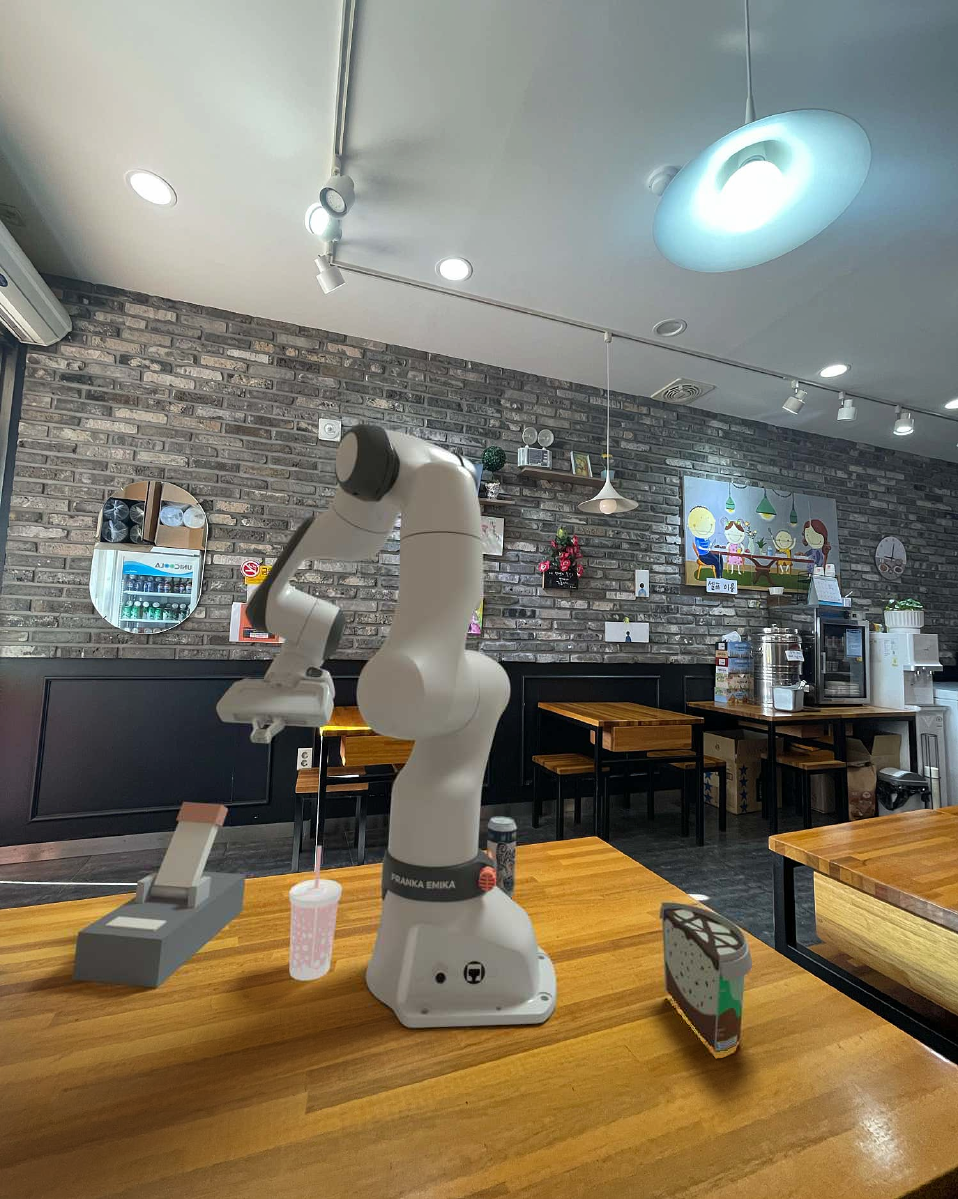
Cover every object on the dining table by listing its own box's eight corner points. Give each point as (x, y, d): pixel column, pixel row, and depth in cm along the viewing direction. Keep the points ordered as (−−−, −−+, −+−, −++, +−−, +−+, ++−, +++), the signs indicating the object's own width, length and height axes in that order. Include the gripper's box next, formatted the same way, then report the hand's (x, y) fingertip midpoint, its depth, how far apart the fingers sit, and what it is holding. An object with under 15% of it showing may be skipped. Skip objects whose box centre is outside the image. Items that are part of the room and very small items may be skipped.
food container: (783, 1066, 50) (780, 955, 51) (725, 1071, 49) (723, 958, 50) (706, 987, 62) (706, 898, 63) (659, 990, 61) (659, 900, 62)
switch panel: (242, 911, 75) (247, 856, 76) (156, 988, 57) (164, 915, 58) (176, 905, 76) (182, 851, 77) (72, 979, 58) (81, 908, 59)
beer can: (503, 908, 80) (506, 826, 81) (478, 898, 83) (481, 820, 84) (519, 897, 84) (522, 820, 85) (495, 888, 86) (498, 814, 88)
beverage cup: (335, 951, 66) (343, 836, 67) (337, 980, 60) (346, 853, 62) (283, 958, 64) (294, 839, 66) (281, 988, 58) (292, 857, 60)
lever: (195, 900, 67) (228, 809, 74) (187, 898, 66) (221, 804, 73) (155, 897, 68) (191, 806, 75) (145, 894, 66) (183, 802, 73)
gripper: (232, 667, 98) (194, 725, 87) (337, 672, 97) (312, 732, 86) (241, 689, 102) (207, 748, 91) (343, 695, 100) (320, 755, 90)
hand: (259, 740), depth 88 cm, fingers closed
